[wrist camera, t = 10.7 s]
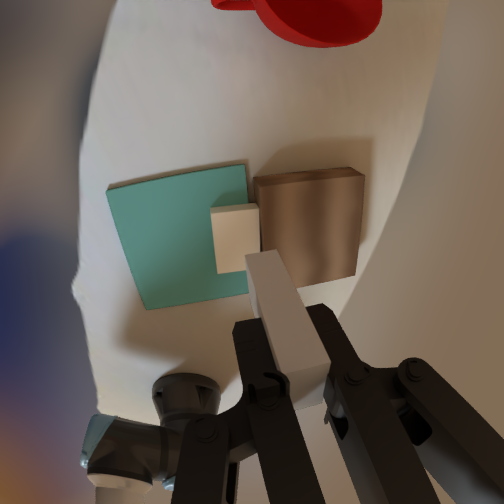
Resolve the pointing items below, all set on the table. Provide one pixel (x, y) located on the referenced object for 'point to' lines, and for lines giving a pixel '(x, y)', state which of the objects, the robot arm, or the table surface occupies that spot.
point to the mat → (177, 235)
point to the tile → (235, 235)
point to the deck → (312, 222)
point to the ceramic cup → (314, 19)
